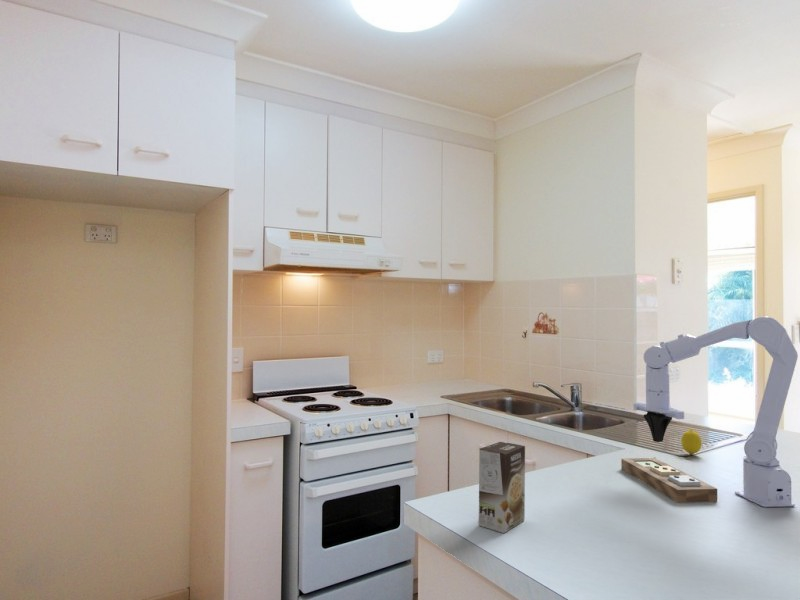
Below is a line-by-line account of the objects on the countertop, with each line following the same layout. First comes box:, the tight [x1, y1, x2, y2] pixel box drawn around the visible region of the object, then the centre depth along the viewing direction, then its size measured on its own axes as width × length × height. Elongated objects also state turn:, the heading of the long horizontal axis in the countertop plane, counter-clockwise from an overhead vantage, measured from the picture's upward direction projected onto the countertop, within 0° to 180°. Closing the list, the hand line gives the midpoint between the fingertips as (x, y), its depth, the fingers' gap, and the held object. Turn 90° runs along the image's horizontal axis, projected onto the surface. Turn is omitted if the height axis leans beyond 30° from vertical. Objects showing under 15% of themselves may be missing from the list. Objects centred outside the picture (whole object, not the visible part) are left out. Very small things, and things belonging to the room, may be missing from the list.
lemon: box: [681, 429, 702, 456], centre depth 164 cm, size 6×6×8 cm
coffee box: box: [478, 441, 526, 534], centre depth 110 cm, size 9×6×16 cm
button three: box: [650, 465, 681, 476], centre depth 136 cm, size 5×5×3 cm
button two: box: [668, 474, 701, 486], centre depth 128 cm, size 5×5×3 cm
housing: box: [620, 457, 718, 503], centre depth 136 cm, size 26×10×3 cm, turn 5°
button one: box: [636, 461, 659, 467], centre depth 144 cm, size 5×5×3 cm
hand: (658, 441), depth 139 cm, fingers closed
